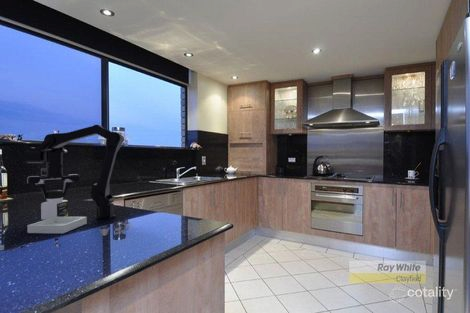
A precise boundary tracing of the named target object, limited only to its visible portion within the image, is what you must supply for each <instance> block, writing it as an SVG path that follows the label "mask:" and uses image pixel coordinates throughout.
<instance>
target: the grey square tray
mask: <svg viewBox="0 0 470 313" xmlns="http://www.w3.org/2000/svg"><path fill="white" fill-rule="evenodd" d="M87 220H88V217H87V216H66V217H52V218H49V219H42V220H41V221H37V222H35V223H30V224H27V234H65V233H68V232H70V231H72V230H74V229H77V228H79V227H82V226H85V225H87V224H88V223H87Z"/></svg>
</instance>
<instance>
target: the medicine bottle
mask: <svg viewBox="0 0 470 313" xmlns="http://www.w3.org/2000/svg"><path fill="white" fill-rule="evenodd" d="M46 194H47V199H45V200H46V201H45V202H42V203H40V214H41V216H40V217H41V220H46V219H49V218H52V217H69V200H67V199H64V198H63V190H60V189H57V190H56V189H54V190H47V191H46Z"/></svg>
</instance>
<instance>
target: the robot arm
mask: <svg viewBox="0 0 470 313" xmlns="http://www.w3.org/2000/svg"><path fill="white" fill-rule="evenodd" d="M96 135H98V136H99V137H102V138H104V139H106V143H105V144H106V145H105V146H106V152H105V156H104V161H103V163H102V167H101V171H100V175H99V180H98V182H96V183H94V184H92V186H91V191H90V192H89V194H90V196H91V199H92V200H93V201H94V203H95V204H96V207H95V217H94V220H110V219H111V218H115V217H116V215H117V214H115V211H114V210H115V203H114V201H115V197H114V196H113V195H112V194H111V193H110V190H111V188H110V187H111V186H110V180H111V176H112V174H113V173H112V172H113V170H114V165H115V161H116V157H117V154H118V152H119V150H120V149H121V147H122V146H123V143H124V139H125V138H124V136H123V134H121V133H120V132H117V131H111V130H109V129H107V128H105V127H103V126H102V125H99V124H94V125H91V126H87V127H83V128H80V129H76V130H71V131H68V132H57V133H49V134H46V135H45V137H44V138H43V142H41V143H40V145H39V146H38V147H31V146H30V147H27V150H26V151H25V153H24V158H23V159H24V161H25V163H27V164H44V163H45V162H46V167H45V168H44V167H43V168H42V167H41V168H40V176H39V175H30V176H28V177H27V178H26V184H29V185H30V184H31V185H32V184H35V186H38V187H39V188H40V190H41V192H42V194H43V196H44V199H45V200H46V199H47V194H46V193H47V189H46V188H47V187H46V183H45V182H53V181H54V182H55V181H57V182H58V181H63V189H62V191H63V199H64V198H65V197H66V194H67V192H68V189H69V188H70V185H71V184H73V183H74V182H79V181H81V175H79V174H78V173H74V174H73V173H72V174H68V175H63V153H68V152H69V150H67V149H65V148H64V146H66V145H68V144H70V143H72V142H73V141H78V140H80V139H85V138H89V137H93V136H96Z"/></svg>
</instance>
